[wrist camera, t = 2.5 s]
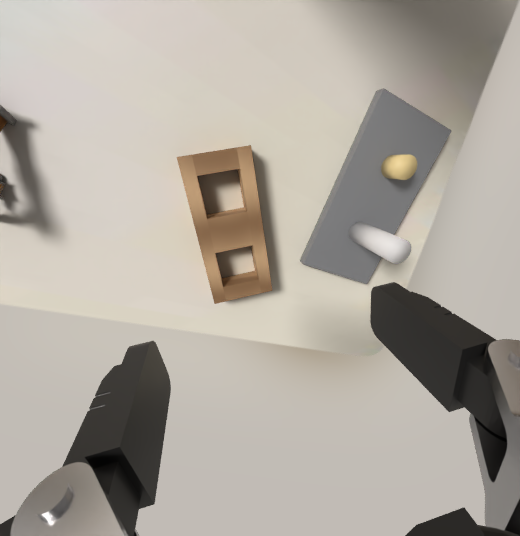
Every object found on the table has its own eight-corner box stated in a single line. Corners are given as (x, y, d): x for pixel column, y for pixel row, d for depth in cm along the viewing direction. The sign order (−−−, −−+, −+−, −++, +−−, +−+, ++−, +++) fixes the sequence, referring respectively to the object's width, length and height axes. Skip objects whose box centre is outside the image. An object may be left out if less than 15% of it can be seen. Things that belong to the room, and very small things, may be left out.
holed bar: (267, 281, 27) (272, 290, 25) (214, 293, 26) (214, 303, 24) (246, 146, 22) (250, 145, 20) (179, 157, 21) (176, 157, 19)
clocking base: (299, 260, 27) (329, 292, 20) (376, 91, 22) (445, 64, 16) (361, 280, 29) (405, 314, 23) (442, 131, 24) (525, 122, 18)
